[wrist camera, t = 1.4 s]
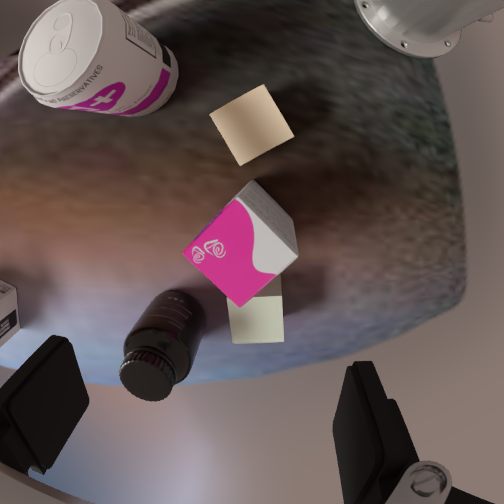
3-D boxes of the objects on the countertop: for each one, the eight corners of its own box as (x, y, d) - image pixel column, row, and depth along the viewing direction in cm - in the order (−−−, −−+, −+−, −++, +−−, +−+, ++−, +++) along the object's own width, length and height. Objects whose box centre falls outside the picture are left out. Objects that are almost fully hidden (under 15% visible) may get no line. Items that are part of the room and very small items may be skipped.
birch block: (264, 93, 28) (263, 84, 24) (290, 138, 30) (294, 136, 25) (219, 119, 29) (209, 114, 25) (244, 162, 31) (240, 166, 26)
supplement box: (251, 176, 31) (240, 193, 20) (294, 219, 32) (305, 259, 21) (210, 217, 32) (179, 255, 22) (252, 258, 33) (242, 313, 23)
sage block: (280, 274, 34) (281, 295, 29) (282, 316, 35) (283, 341, 31) (232, 277, 34) (226, 298, 30) (237, 318, 36) (232, 343, 31)
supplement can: (177, 116, 29) (102, 98, 15) (104, 118, 30) (5, 113, 15) (184, 40, 27) (123, -24, 12) (112, 47, 27) (24, 7, 13)
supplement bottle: (203, 346, 37) (180, 418, 26) (149, 332, 37) (110, 398, 26) (211, 295, 35) (184, 363, 24) (151, 282, 35) (105, 340, 24)
